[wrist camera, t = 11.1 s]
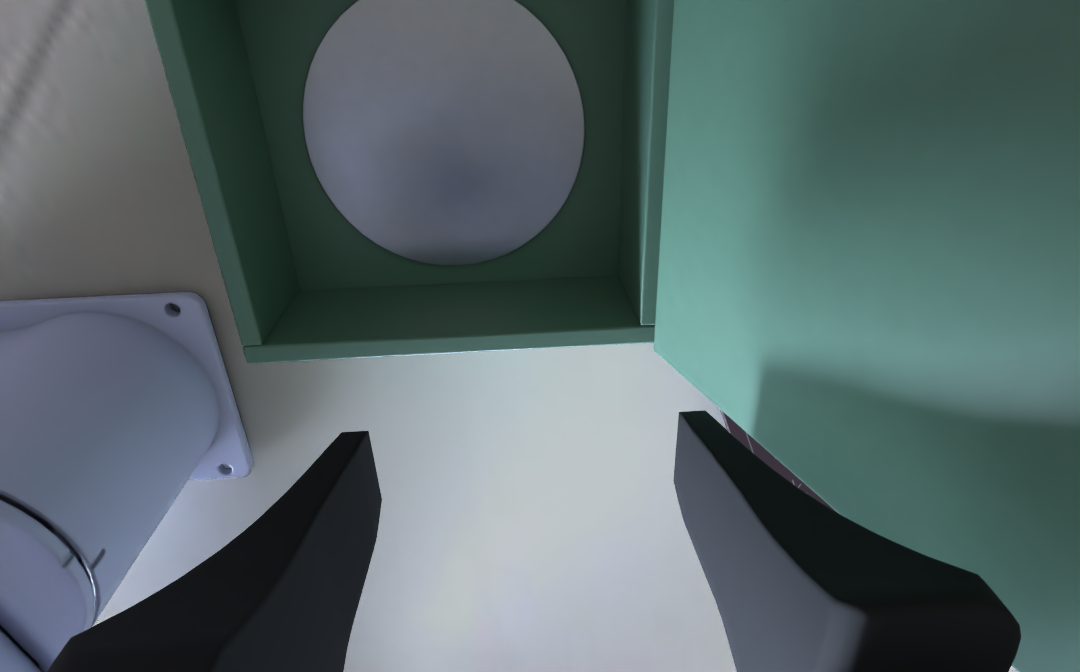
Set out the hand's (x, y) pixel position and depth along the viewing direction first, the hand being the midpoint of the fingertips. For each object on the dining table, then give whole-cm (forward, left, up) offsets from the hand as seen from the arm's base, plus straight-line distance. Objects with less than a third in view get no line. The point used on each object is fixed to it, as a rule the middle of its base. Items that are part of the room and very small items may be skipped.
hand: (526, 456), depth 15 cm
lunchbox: (-2, +6, -9) cm, 11 cm away
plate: (-2, +6, -9) cm, 11 cm away
